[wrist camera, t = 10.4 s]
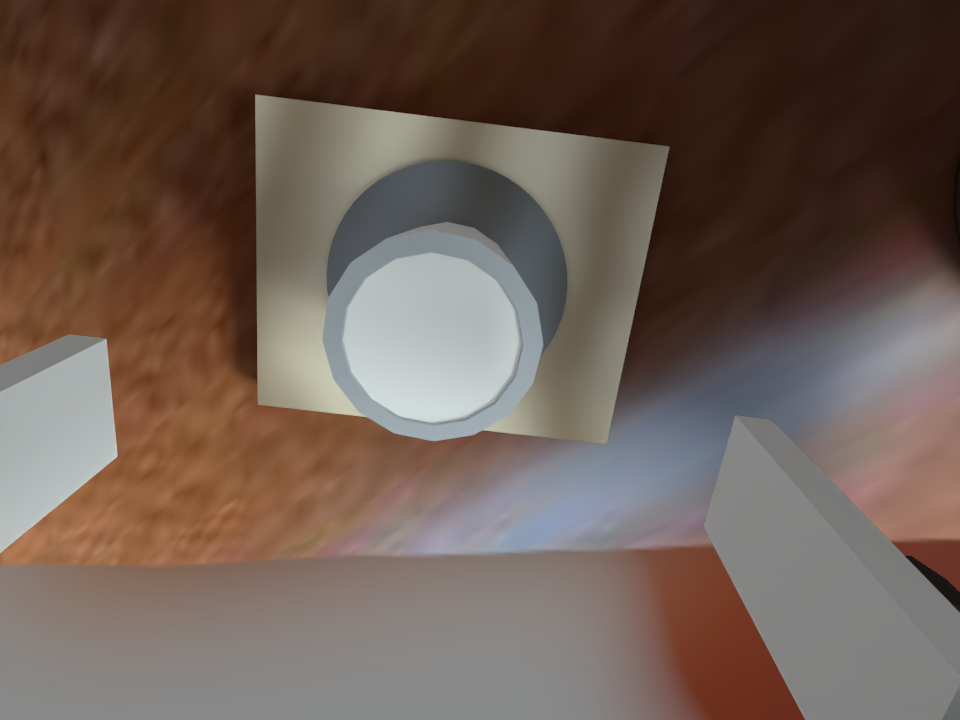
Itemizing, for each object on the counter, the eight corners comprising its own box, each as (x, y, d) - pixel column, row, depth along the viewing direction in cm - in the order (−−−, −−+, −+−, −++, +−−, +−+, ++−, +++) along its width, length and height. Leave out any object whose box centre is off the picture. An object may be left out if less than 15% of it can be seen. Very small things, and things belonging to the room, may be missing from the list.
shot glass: (368, 366, 27) (328, 440, 20) (361, 204, 24) (312, 228, 18) (526, 369, 27) (538, 445, 20) (534, 207, 24) (550, 233, 18)
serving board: (656, 146, 25) (671, 146, 23) (599, 425, 30) (607, 447, 28) (272, 97, 25) (252, 93, 23) (272, 387, 30) (255, 407, 27)
